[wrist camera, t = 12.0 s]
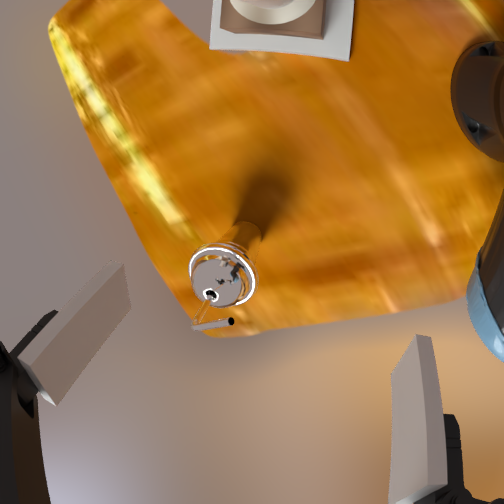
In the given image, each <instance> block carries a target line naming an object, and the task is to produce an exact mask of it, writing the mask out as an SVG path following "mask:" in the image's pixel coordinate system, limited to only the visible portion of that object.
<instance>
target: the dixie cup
mask: <svg viewBox="0 0 504 504" xmlns="http://www.w3.org/2000/svg"><path fill="white" fill-rule="evenodd" d="M240 1H243V2H246V3H249V4H252V5H255V6H258V7H261V8H265V9H278V8H282V7H285V6H287V5H289V4H290V3H292V2H293V1H294V0H240Z"/></svg>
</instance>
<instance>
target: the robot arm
mask: <svg viewBox="0 0 504 504" xmlns="http://www.w3.org/2000/svg"><path fill="white" fill-rule="evenodd" d="M451 100H452V106H453V110H454V114H455V117H456V119H457V122H458V124H459V126H460V128H461V130H462V131H463V133H464V134H465V136H466V137H467V138H468V140H469V141H470V142H471V143H472V144H473V145H474V146H475V147H476V148H477V149H479V150H480V151H481V152H483V153H485V154H486V155H488V156H489V157H491V158H493V159H495V160H497V161H500V162H504V42H500V41H489V42H483V43H479V44H476V45H473V46H472V47H470V48H469V49H467V50H466V51H465V52H464V53H463V54H462V55H461V57H460V58H459V59H458V61H457V63H456V65H455V68H454V71H453V74H452V79H451ZM466 299H467V303H468V313H469V316H470V319H471V322H472V324H473V326H474V328H475V330H476V332H477V334H478V335H479V337H480V338H481V340H482V341H483V343H484V344H485V345H486V347H487V348H488V349H489V350H490V351H491V352H492V353H493V354H494V355H495V356H496V357H497V358H498V359H500V360H501V361H502V362H504V189H503V192H502V196H501V199H500V202H499V205H498V208H497V211H496V214H495V216H494V219H493V222H492V225H491V227H490V230H489V232H488V235H487V237H486V240H485V242H484V244H483V246H482V247H481V249H480V250H479V252H478V254H477V258H476V264H475V267H474V270H473V272H472V275H471V277H470V279H469V282H468V285H467V291H466ZM130 309H131V304H130V299H129V293H128V288H127V282H126V276H125V270H124V264H122V263H118V262H115V261H112V260H111V261H109V262H108V263H107V265H105V266H104V267H103V268H102V269H101V270H100V271H99V272H98V273H97V274H96V275H95V276H94V277H93V278H92V279H91V280H90V281H89V282H88V283H87V284H86V285H85V286H84V287H83V288H82V289H81V290H80V291H79V292H78V293H77V294H76V295H75V296H74V297H73V298H72V299H71V300H70V301H69V302H68V303H67V304H66V305H65V306H64V307H63V308H62V309H61V310H60V311H59V312H58V311H56V310H53V311H51V312H50V313H48V314H46V315H44V316H43V318H42V319H41V320H40V321H39V322H38V323H37V325H35V326H34V327H33V328H32V330H31V331H29V332H28V333H27V334H26V336H25V337H24V338H23V339H22V340H21V341H20V342H19V343H18V344H17V346H16V347H15V348H14V349H13V350H12V351H11V352H10V353H8V352H7V350H6V348H5V346H4V345H3V343H2V342H1V341H0V504H51V502H50V497H49V493H48V487H47V481H46V476H45V470H44V464H43V456H42V448H41V439H40V429H39V416H38V399H37V396H36V394H37V393H38V391H39V392H40V393H41V395H42V396H43V397H44V399H46V400H47V401H49V402H50V403H52V404H54V405H55V406H58V404H59V403H60V401H61V400H62V399H63V397H64V396H65V394H66V393H67V392H68V390H69V389H70V388H71V386H72V385H73V383H74V382H75V381H76V379H77V378H78V377H79V375H80V374H81V372H82V371H83V370H84V369H85V367H86V366H87V365H88V363H89V362H90V361H91V359H92V358H93V357H94V355H95V354H96V353H97V351H98V350H99V349H100V348H101V346H102V345H103V343H104V342H105V341H106V340H107V338H108V337H109V336H110V334H111V333H112V332H113V331H114V329H115V328H116V327H117V326H118V324H119V323H120V322H121V321H122V319H123V318H124V317H125V316H126V314H127V313H128V312H129V311H130ZM391 387H392V449H391V470H390V485H389V497H388V504H412V503H414V504H504V499H502V498H498V499H496V500H493V501H492V502H486V501H482V500H478V499H475V498H473V497H472V495H471V493H470V492H469V491H468V490H467V489H465V487H464V481H463V462H462V450H461V440H460V429H459V425H458V423H457V420H456V418H455V416H454V415H452V414H443V408H442V400H441V393H440V386H439V379H438V373H437V367H436V361H435V356H434V351H433V346H432V341H431V337H428V336H423V335H417V334H416V335H415V336H414V338H413V340H412V341H411V343H410V345H409V346H408V348H407V350H406V351H405V353H404V354H403V356H402V358H401V359H400V361H399V362H398V364H397V366H396V367H395V369H394V370H393V372H392V373H391Z"/></svg>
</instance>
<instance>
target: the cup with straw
mask: <svg viewBox="0 0 504 504" xmlns="http://www.w3.org/2000/svg"><path fill="white" fill-rule="evenodd" d="M261 240H262V235H261V232H260V230H259V228H258V227H257V226H256V225H254V224H253V223H251V222H248V221H241V222H238V223H236V224H235V225H234V226H233V227H231V228H230V229H229V230H228V231H227V232H226V233H225V234H224V235H223V236H222V237H221V238H220V239H219V240H218V241H216V242H215V243H208V244H204V245H202V246H201V247H199V248H198V249H197V250H195V251H194V253H193V255H192V256H191V259H190V262H189V267H188V271H189V277H190V279H191V284H192V288H193V290H194V292H195V294H196V295H197V297H198V298H199V299H200V300H201V301H202V302H203V304H202V306H201V307H200V309H199V311H198V312H197V314H196V316H195V317H194V319H193V321H192V323H191V328H192V329H193V330H194V331H201V330H207V329H213V328H219V327H225V326H231V325H233V324H234V319H233V318H232V317H229V318H224V319H219V320H214V321H209V322H204V323H200V321H201V319H202V317H203V316H204V314H205V312H206V310H207V309H208V307H209V306H211V307H215V308H228V307H231V306H235V305H240V304H242V303H244V302H246V301H248V300H249V299H250V298H251V297H252V295H253V294H254V293H255V291H256V290H257V287H258V273H257V269H256V267H255V263H256V259H257V256H258V252H259V248H260V244H261Z"/></svg>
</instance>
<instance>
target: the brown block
mask: <svg viewBox="0 0 504 504" xmlns="http://www.w3.org/2000/svg"><path fill="white" fill-rule="evenodd" d="M326 1H327V0H294V1H293V2H292V3H290V4H289V5H287V6H285V7H282V8H278V9H265V8H261V7H258V6H255V5H252V4H249V3H246V2H243V1H240V0H222V4H221V16H220V28H221V29H224V30H226V31H229V32H232V33H234V34H263V35H279V36H292V37H302V38H311V39H319V40H323V37H324V26H325V14H326Z"/></svg>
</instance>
